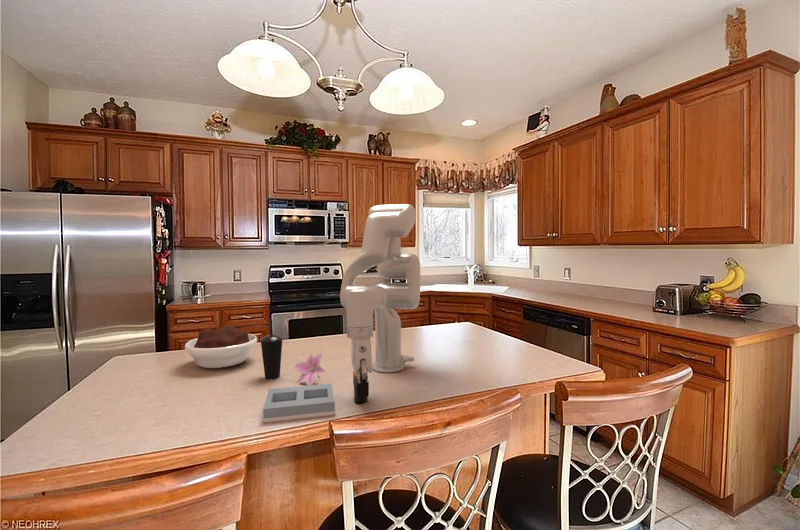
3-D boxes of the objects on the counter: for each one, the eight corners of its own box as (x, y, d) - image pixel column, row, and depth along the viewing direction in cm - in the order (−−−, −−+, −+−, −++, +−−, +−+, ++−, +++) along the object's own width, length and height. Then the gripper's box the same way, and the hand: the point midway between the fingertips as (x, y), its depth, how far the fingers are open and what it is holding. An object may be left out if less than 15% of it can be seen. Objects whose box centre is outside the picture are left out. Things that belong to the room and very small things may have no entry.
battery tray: (331, 394, 114) (331, 383, 114) (334, 414, 100) (334, 401, 100) (269, 400, 110) (269, 389, 109) (263, 422, 96) (263, 409, 96)
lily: (294, 380, 129) (285, 360, 124) (324, 362, 134) (317, 343, 129) (307, 402, 120) (297, 381, 115) (339, 382, 125) (331, 361, 120)
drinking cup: (276, 381, 125) (275, 322, 124) (256, 380, 127) (254, 321, 126) (288, 374, 133) (286, 318, 132) (268, 372, 134) (267, 317, 133)
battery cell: (366, 397, 111) (366, 366, 111) (369, 403, 107) (368, 370, 107) (353, 399, 110) (352, 367, 110) (354, 404, 106) (354, 371, 106)
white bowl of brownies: (240, 375, 132) (239, 333, 131) (170, 375, 132) (169, 333, 132) (267, 355, 157) (266, 319, 156) (208, 355, 157) (207, 319, 156)
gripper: (378, 337, 100) (378, 401, 101) (368, 324, 117) (369, 379, 118) (350, 339, 99) (351, 403, 99) (344, 325, 115) (345, 381, 116)
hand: (360, 390), depth 109 cm, fingers open, 8 cm apart
